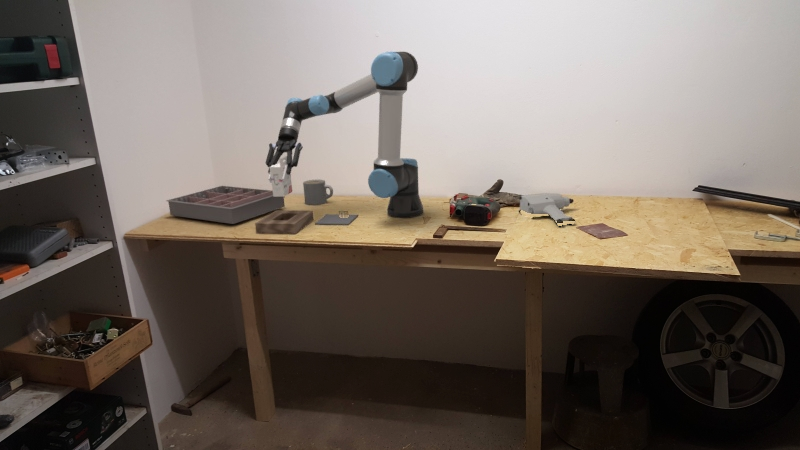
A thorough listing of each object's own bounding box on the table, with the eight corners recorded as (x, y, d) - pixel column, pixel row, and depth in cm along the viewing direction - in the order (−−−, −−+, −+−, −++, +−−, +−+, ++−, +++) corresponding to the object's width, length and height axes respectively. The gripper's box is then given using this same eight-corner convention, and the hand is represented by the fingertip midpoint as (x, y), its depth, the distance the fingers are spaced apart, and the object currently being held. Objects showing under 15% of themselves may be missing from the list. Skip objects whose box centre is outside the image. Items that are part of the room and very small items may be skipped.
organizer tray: (224, 201, 282) (221, 181, 279) (287, 209, 262) (285, 187, 259) (168, 218, 256) (164, 196, 253) (233, 228, 235) (230, 204, 233)
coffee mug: (301, 204, 268) (298, 183, 265) (312, 199, 277) (310, 179, 274) (326, 206, 263) (325, 184, 260) (337, 201, 272) (335, 179, 269)
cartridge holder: (313, 220, 241) (312, 210, 240) (295, 234, 222) (294, 223, 221) (277, 219, 244) (276, 210, 243) (256, 233, 225) (255, 223, 224)
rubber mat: (358, 216, 244) (358, 214, 244) (348, 225, 231) (348, 223, 230) (326, 215, 247) (326, 214, 247) (314, 224, 234) (314, 223, 233)
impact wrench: (605, 215, 219) (568, 187, 240) (552, 222, 212) (518, 193, 233) (601, 234, 223) (565, 205, 243) (549, 242, 216) (516, 211, 237)
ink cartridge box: (281, 191, 234) (277, 155, 230) (292, 191, 233) (288, 155, 229) (272, 196, 226) (268, 159, 222) (284, 196, 225) (280, 158, 221)
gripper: (313, 137, 237) (302, 186, 226) (271, 138, 241) (259, 186, 230) (307, 125, 230) (295, 175, 219) (264, 127, 234) (251, 175, 223)
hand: (277, 180), depth 224 cm, fingers closed on ink cartridge box, 5 cm apart
